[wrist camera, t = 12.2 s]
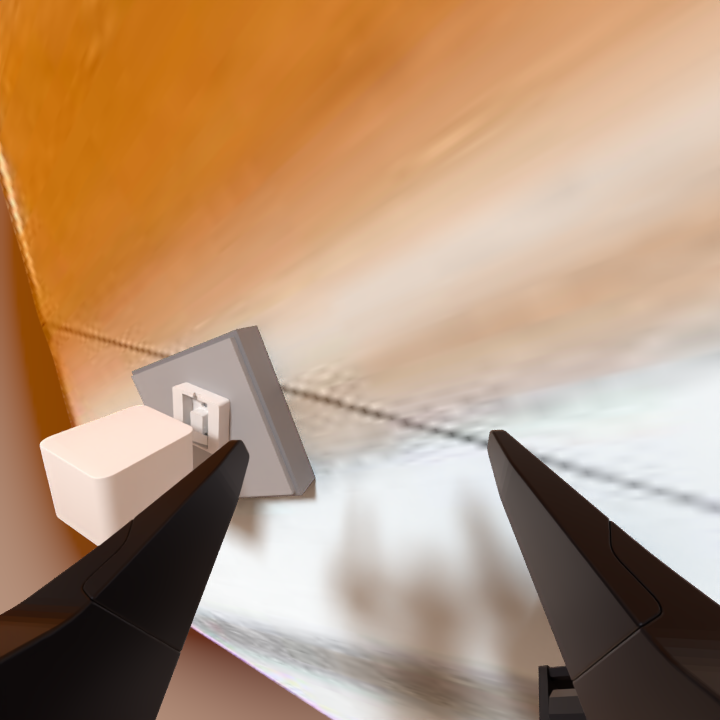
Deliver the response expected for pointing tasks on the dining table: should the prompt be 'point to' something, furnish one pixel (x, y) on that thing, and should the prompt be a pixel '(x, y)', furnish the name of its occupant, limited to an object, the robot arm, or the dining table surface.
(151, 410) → the security camera
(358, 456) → the dining table surface
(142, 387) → the grey square slab
